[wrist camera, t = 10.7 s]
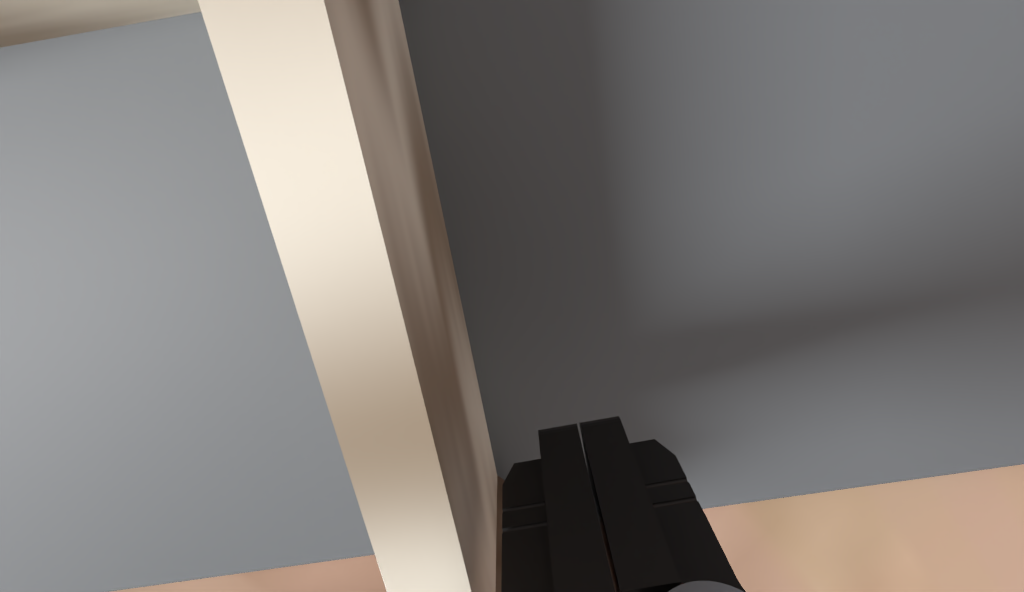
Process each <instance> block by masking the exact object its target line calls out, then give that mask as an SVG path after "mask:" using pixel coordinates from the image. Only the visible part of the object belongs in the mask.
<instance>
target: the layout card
mask: <svg viewBox="0 0 1024 592" xmlns="http://www.w3.org/2000/svg"><path fill="white" fill-rule="evenodd" d="M398 1H399V6H400V10H401V15H402V20H403V25H404V30H405V34H406V39H407V44H408V49H409V54H410V58H411V63H412V68H413V73H414V78H415V82H416V87H417V92H418V97H419V102H420V106H421V111H422V116H423V121H424V126H425V131H426V135H427V140H428V145H429V150H430V155H431V159H432V164H433V169H434V174H435V179H436V183H437V188H438V193H439V198H440V203H441V207H442V212H443V217H444V222H445V227H446V231H447V236H448V241H449V246H450V251H451V255H452V260H453V265H454V270H455V275H456V279H457V284H458V289H459V294H460V299H461V304H462V308H463V313H464V318H465V323H466V328H467V332H468V337H469V342H470V347H471V352H472V356H473V361H474V366H475V371H476V376H477V380H478V385H479V390H480V395H481V400H482V404H483V409H484V414H485V419H486V424H487V428H488V433H489V438H490V443H491V448H492V452H493V457H494V462H495V467H496V472H497V476H499V477H501V478H502V479H503V480H505V479H506V477H507V475H508V474H509V472H510V470H511V468H512V466H513V464H514V463H518V462H524V461H530V460H536V459H541V456H540V446H539V436H538V430H542V429H548V428H553V427H559V426H565V425H571V424H576V423H577V426H578V430H579V435H580V439H581V444H582V448H583V452H584V447H583V441H582V435H581V429H580V423H581V422H587V421H593V420H598V419H604V418H610V417H616V416H619V417H620V419H621V422H622V425H623V427H624V430H625V433H626V435H627V438H628V441H629V443H635V442H640V441H646V440H652V439H655V440H657V441H658V442H659V443H660V444H662V445H663V446H664V447H665V448H667V449H668V450H669V451H671V452H672V453H673V454H674V455H676V457H677V459H678V461H679V463H680V465H681V467H682V469H683V471H684V473H685V475H686V477H687V481H688V482H689V483H690V485H691V487H692V489H693V491H694V493H695V495H696V499H697V501H699V503H700V506H701V508H702V509H705V508H712V507H719V506H726V505H733V504H740V503H748V502H755V501H762V500H769V499H776V498H784V497H791V496H798V495H805V494H812V493H819V492H827V491H834V490H841V489H848V488H855V487H862V486H870V485H877V484H884V483H891V482H898V481H906V480H913V479H920V478H927V477H934V476H941V475H949V474H956V473H963V472H970V471H977V470H984V469H992V468H999V467H1006V466H1013V465H1020V464H1024V0H398ZM584 457H585V452H584ZM585 461H586V458H585ZM586 466H587V464H586ZM587 470H588V469H587ZM374 554H375V553H374V550H373V547H372V544H371V541H370V538H369V535H368V532H367V528H366V525H365V522H364V519H363V516H362V513H361V510H360V507H359V503H358V500H357V497H356V494H355V491H354V488H353V485H352V482H351V478H350V475H349V472H348V469H347V466H346V463H345V460H344V457H343V453H342V450H341V447H340V444H339V441H338V438H337V435H336V431H335V428H334V425H333V422H332V419H331V416H330V413H329V410H328V406H327V403H326V400H325V397H324V394H323V391H322V388H321V385H320V381H319V378H318V375H317V372H316V369H315V366H314V363H313V360H312V356H311V353H310V350H309V347H308V344H307V341H306V338H305V335H304V331H303V328H302V325H301V322H300V319H299V316H298V313H297V309H296V306H295V303H294V300H293V297H292V294H291V291H290V288H289V284H288V281H287V278H286V275H285V272H284V269H283V266H282V263H281V259H280V256H279V253H278V250H277V247H276V244H275V241H274V238H273V234H272V231H271V228H270V225H269V222H268V219H267V216H266V213H265V209H264V206H263V203H262V200H261V197H260V194H259V191H258V188H257V184H256V181H255V178H254V175H253V172H252V169H251V166H250V162H249V159H248V156H247V153H246V150H245V147H244V144H243V141H242V137H241V134H240V131H239V128H238V125H237V122H236V119H235V116H234V112H233V109H232V106H231V103H230V100H229V97H228V94H227V91H226V87H225V84H224V81H223V78H222V75H221V72H220V69H219V66H218V62H217V59H216V56H215V53H214V50H213V47H212V44H211V41H210V37H209V34H208V31H207V28H206V25H205V22H204V19H203V15H202V12H197V13H191V14H185V15H180V16H174V17H169V18H163V19H157V20H152V21H146V22H141V23H135V24H130V25H124V26H118V27H113V28H107V29H102V30H96V31H90V32H85V33H79V34H74V35H68V36H62V37H57V38H51V39H46V40H40V41H34V42H29V43H23V44H18V45H12V46H6V47H1V48H0V592H109V591H116V590H123V589H130V588H138V587H145V586H152V585H159V584H166V583H173V582H181V581H188V580H195V579H202V578H209V577H217V576H224V575H231V574H238V573H245V572H252V571H260V570H267V569H274V568H281V567H288V566H295V565H303V564H310V563H317V562H324V561H331V560H339V559H346V558H353V557H360V556H367V555H374Z"/></svg>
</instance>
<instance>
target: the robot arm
mask: <svg viewBox="0 0 1024 592" xmlns="http://www.w3.org/2000/svg"><path fill="white" fill-rule="evenodd" d="M580 429H581V435H582V441H583V447H584V452H585V457H584V452H583V448H582V444H581V439H580V435H579V430H578V426H577V423H576V424H571V425H565V426H559V427H553V428H548V429H542V430H538V436H539V446H540V456H541V459H536V460H530V461H524V462H518V463H514V464H513V466H512V468H511V470H510V472H509V474H508V475H507V477H506V479H505V481H504V483H503V485H502V510H503V513H502V531H503V533H502V577H501V592H746V591H745V590H744V589H743V588H742V586H741V585H740V583H739V581H738V580H737V578H736V576H735V574H734V572H733V570H732V568H731V566H730V564H729V562H728V560H727V558H726V556H725V554H724V552H723V550H722V548H721V546H720V544H719V542H718V540H717V538H716V536H715V534H714V532H713V530H712V528H711V526H710V524H709V522H708V520H707V518H706V516H705V514H704V512H703V510H702V508H701V506H700V503H699V501H697V499H696V495H695V493H694V491H693V489H692V487H691V485H690V483H689V482H688V481H687V477H686V475H685V473H684V471H683V469H682V467H681V465H680V463H679V461H678V459H677V457H676V455H674V454H673V453H672V452H671V451H669V450H668V449H667V448H665V447H664V446H663V445H662V444H660V443H659V442H658V441H657V440H655V439H652V440H646V441H640V442H635V443H629V441H628V438H627V435H626V433H625V430H624V427H623V425H622V422H621V419H620V417H619V416H616V417H610V418H604V419H598V420H593V421H587V422H581V423H580ZM585 458H586V461H585ZM586 464H587V466H586ZM587 469H588V470H587Z"/></svg>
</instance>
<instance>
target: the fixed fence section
mask: <svg viewBox="0 0 1024 592" xmlns="http://www.w3.org/2000/svg"><path fill="white" fill-rule="evenodd" d="M197 12H201V9H200V6H199V3H198V0H0V48H1V47H6V46H12V45H18V44H23V43H29V42H34V41H40V40H46V39H51V38H57V37H62V36H68V35H74V34H79V33H85V32H90V31H96V30H102V29H107V28H113V27H118V26H124V25H130V24H135V23H141V22H146V21H152V20H157V19H163V18H169V17H174V16H180V15H185V14H191V13H197Z"/></svg>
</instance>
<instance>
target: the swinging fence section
mask: <svg viewBox="0 0 1024 592" xmlns="http://www.w3.org/2000/svg"><path fill="white" fill-rule="evenodd" d="M198 3H199V6H200V9H201V12H202V15H203V19H204V22H205V25H206V28H207V31H208V34H209V37H210V41H211V44H212V47H213V50H214V53H215V56H216V59H217V62H218V66H219V69H220V72H221V75H222V78H223V81H224V84H225V87H226V91H227V94H228V97H229V100H230V103H231V106H232V109H233V112H234V116H235V119H236V122H237V125H238V128H239V131H240V134H241V137H242V141H243V144H244V147H245V150H246V153H247V156H248V159H249V162H250V166H251V169H252V172H253V175H254V178H255V181H256V184H257V188H258V191H259V194H260V197H261V200H262V203H263V206H264V209H265V213H266V216H267V219H268V222H269V225H270V228H271V231H272V234H273V238H274V241H275V244H276V247H277V250H278V253H279V256H280V259H281V263H282V266H283V269H284V272H285V275H286V278H287V281H288V284H289V288H290V291H291V294H292V297H293V300H294V303H295V306H296V309H297V313H298V316H299V319H300V322H301V325H302V328H303V331H304V335H305V338H306V341H307V344H308V347H309V350H310V353H311V356H312V360H313V363H314V366H315V369H316V372H317V375H318V378H319V381H320V385H321V388H322V391H323V394H324V397H325V400H326V403H327V406H328V410H329V413H330V416H331V419H332V422H333V425H334V428H335V431H336V435H337V438H338V441H339V444H340V447H341V450H342V453H343V457H344V460H345V463H346V466H347V469H348V472H349V475H350V478H351V482H352V485H353V488H354V491H355V494H356V497H357V500H358V503H359V507H360V510H361V513H362V516H363V519H364V522H365V525H366V528H367V532H368V535H369V538H370V541H371V544H372V547H373V550H374V553H375V557H376V560H377V563H378V566H379V569H380V572H381V575H382V578H383V582H384V585H385V588H386V591H387V592H501V577H502V533H503V531H502V513H503V510H502V485H503V483H504V481H505V480H503V479H502V478H501V477H499V476H497V472H496V467H495V462H494V457H493V452H492V448H491V443H490V438H489V433H488V428H487V424H486V419H485V414H484V409H483V404H482V400H481V395H480V390H479V385H478V380H477V376H476V371H475V366H474V361H473V356H472V352H471V347H470V342H469V337H468V332H467V328H466V323H465V318H464V313H463V308H462V304H461V299H460V294H459V289H458V284H457V279H456V275H455V270H454V265H453V260H452V255H451V251H450V246H449V241H448V236H447V231H446V227H445V222H444V217H443V212H442V207H441V203H440V198H439V193H438V188H437V183H436V179H435V174H434V169H433V164H432V159H431V155H430V150H429V145H428V140H427V135H426V131H425V126H424V121H423V116H422V111H421V106H420V102H419V97H418V92H417V87H416V82H415V78H414V73H413V68H412V63H411V58H410V54H409V49H408V44H407V39H406V34H405V30H404V25H403V20H402V15H401V10H400V6H399V1H398V0H198Z"/></svg>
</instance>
